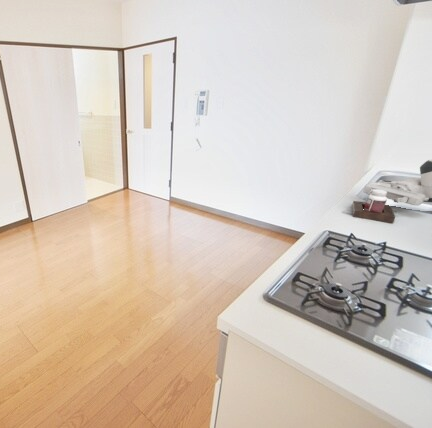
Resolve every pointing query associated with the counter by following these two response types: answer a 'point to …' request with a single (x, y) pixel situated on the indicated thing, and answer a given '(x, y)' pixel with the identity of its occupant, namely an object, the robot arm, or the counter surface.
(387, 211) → the holder
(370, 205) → the pill bottle
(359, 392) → the counter surface
